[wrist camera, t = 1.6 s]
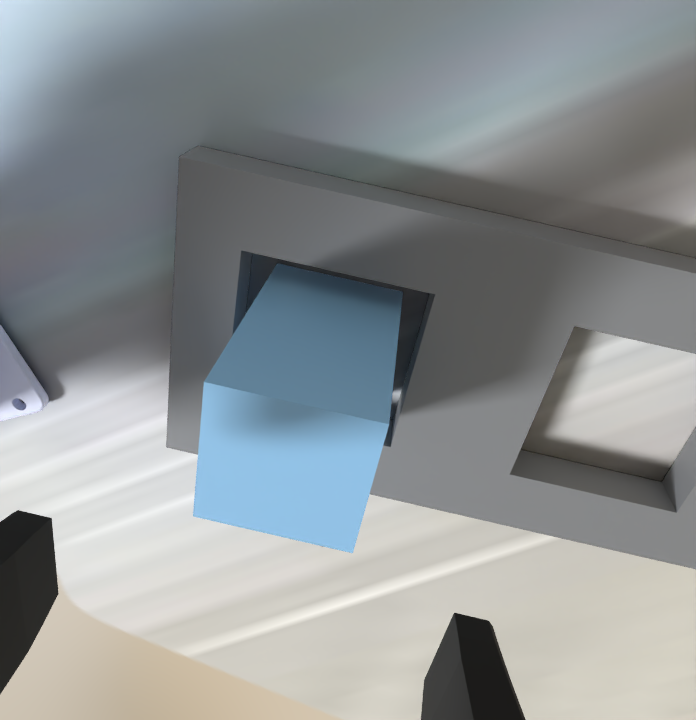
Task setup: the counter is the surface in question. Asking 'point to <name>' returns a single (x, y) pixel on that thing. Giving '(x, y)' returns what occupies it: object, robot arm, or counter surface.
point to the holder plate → (446, 338)
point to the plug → (300, 409)
